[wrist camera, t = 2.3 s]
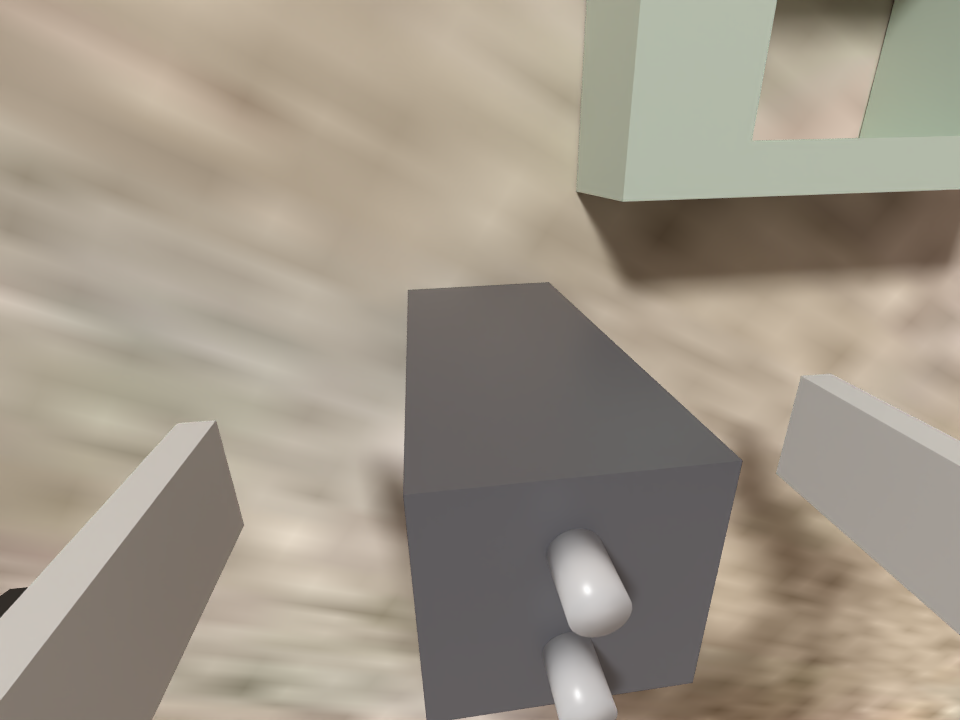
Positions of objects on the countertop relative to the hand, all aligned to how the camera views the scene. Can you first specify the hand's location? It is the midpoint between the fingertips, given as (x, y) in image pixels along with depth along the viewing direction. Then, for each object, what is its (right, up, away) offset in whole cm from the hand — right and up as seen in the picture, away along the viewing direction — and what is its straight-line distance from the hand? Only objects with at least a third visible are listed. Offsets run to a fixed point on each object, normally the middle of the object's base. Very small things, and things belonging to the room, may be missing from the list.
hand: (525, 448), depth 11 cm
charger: (-1, +2, +5) cm, 6 cm away
